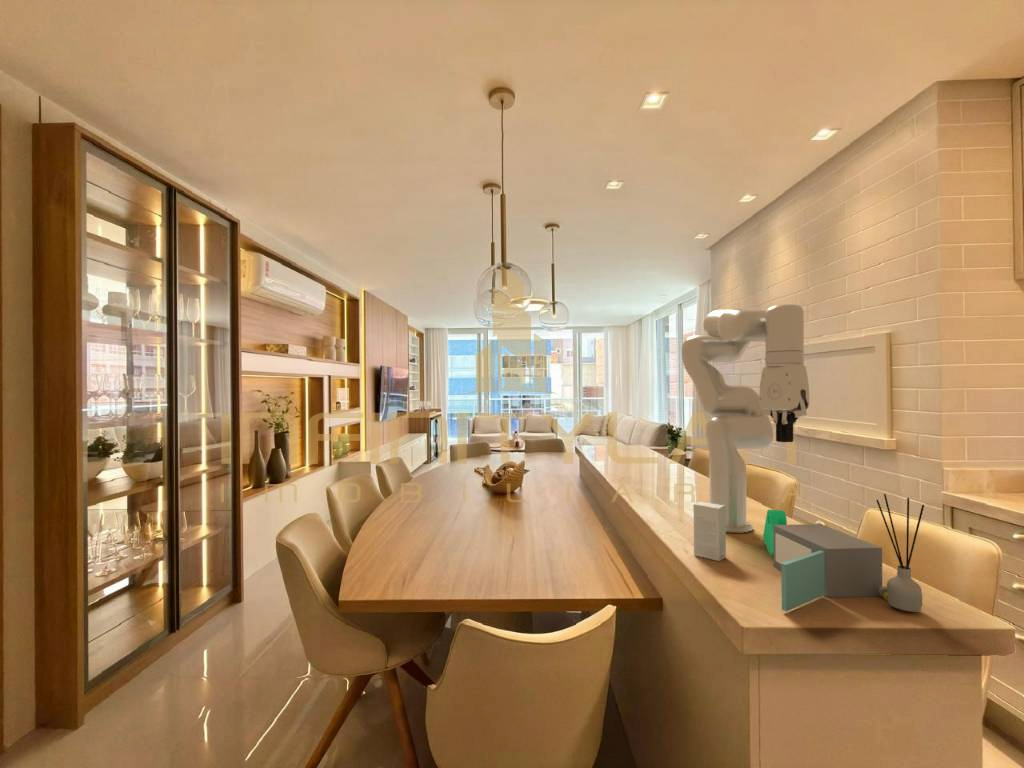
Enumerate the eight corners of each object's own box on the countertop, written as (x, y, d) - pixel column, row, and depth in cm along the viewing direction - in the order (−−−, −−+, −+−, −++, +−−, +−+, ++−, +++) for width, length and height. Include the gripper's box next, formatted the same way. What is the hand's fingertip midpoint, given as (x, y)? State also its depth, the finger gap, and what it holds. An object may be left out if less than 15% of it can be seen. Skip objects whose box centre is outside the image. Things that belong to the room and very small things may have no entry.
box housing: (772, 566, 105) (772, 525, 105) (820, 565, 106) (820, 524, 106) (826, 597, 89) (825, 548, 89) (882, 595, 90) (882, 547, 90)
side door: (819, 593, 90) (819, 550, 90) (824, 594, 89) (824, 551, 89) (781, 609, 83) (781, 563, 83) (786, 611, 82) (786, 564, 82)
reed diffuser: (941, 622, 80) (940, 502, 80) (899, 622, 80) (899, 501, 80) (892, 596, 90) (891, 489, 90) (855, 596, 90) (855, 489, 90)
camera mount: (813, 565, 107) (813, 518, 107) (775, 561, 109) (775, 516, 109) (797, 548, 118) (797, 506, 118) (763, 545, 120) (763, 504, 120)
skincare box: (726, 557, 111) (726, 505, 111) (719, 562, 108) (719, 508, 108) (700, 551, 115) (700, 501, 115) (692, 555, 112) (692, 504, 112)
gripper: (746, 361, 114) (746, 438, 114) (798, 357, 100) (798, 445, 100) (772, 362, 116) (772, 438, 116) (827, 358, 102) (827, 445, 102)
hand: (784, 441), depth 108 cm, fingers closed
